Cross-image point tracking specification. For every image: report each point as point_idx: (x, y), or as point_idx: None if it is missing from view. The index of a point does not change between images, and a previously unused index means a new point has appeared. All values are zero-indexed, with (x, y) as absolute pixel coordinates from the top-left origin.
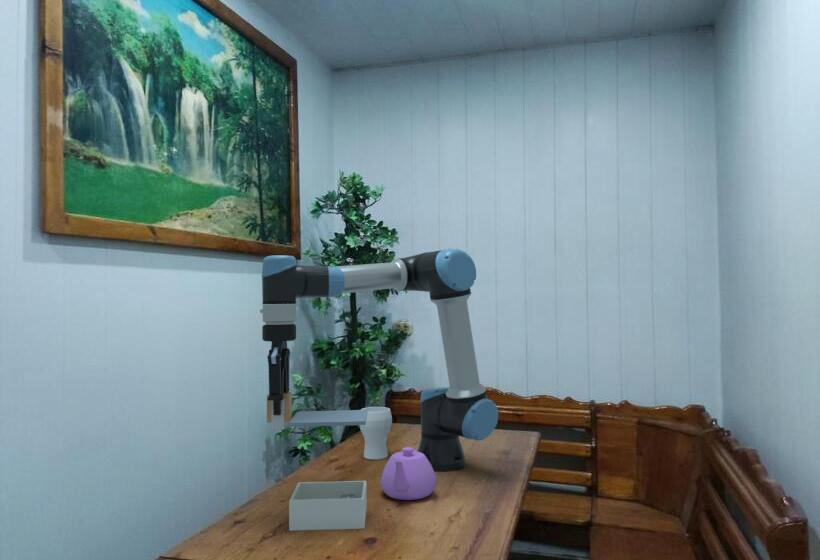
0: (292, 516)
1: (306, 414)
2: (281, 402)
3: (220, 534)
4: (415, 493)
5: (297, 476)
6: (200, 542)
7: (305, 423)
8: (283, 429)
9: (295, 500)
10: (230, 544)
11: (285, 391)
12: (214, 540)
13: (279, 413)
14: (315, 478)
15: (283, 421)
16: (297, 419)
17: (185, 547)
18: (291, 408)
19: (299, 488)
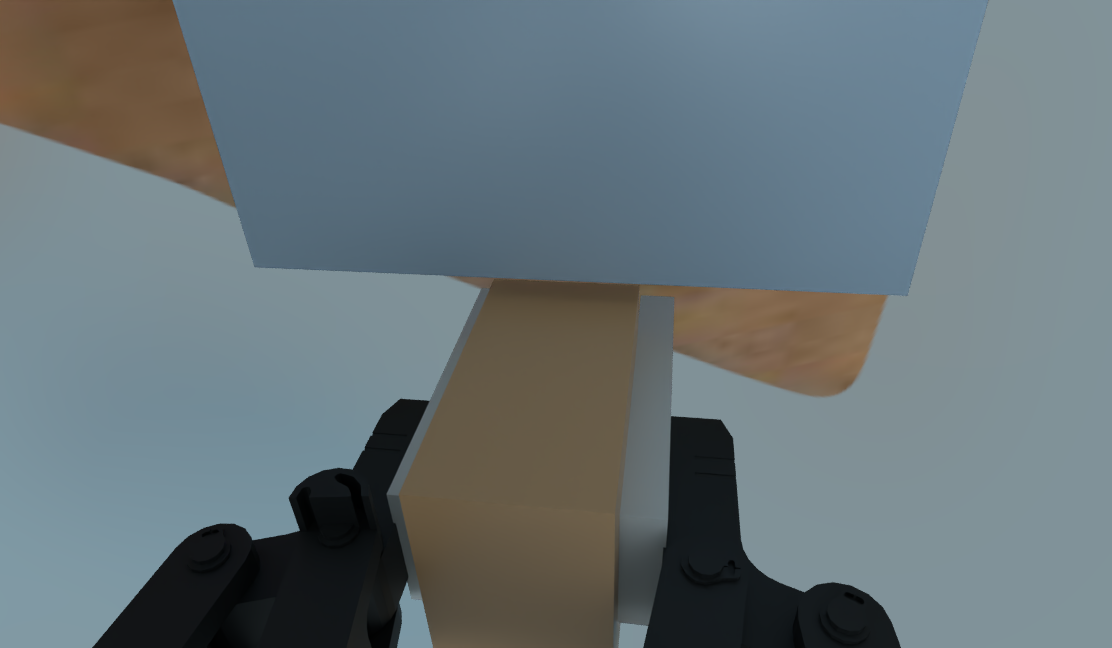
0: None
1: (417, 142)
2: (669, 515)
3: (718, 300)
4: None
5: (44, 120)
6: (778, 347)
7: (965, 75)
8: (672, 300)
9: None
10: None
11: (374, 576)
12: (770, 308)
13: (730, 438)
14: (36, 17)
15: (670, 344)
16: (717, 212)
17: (811, 380)
18: (492, 351)
19: None
